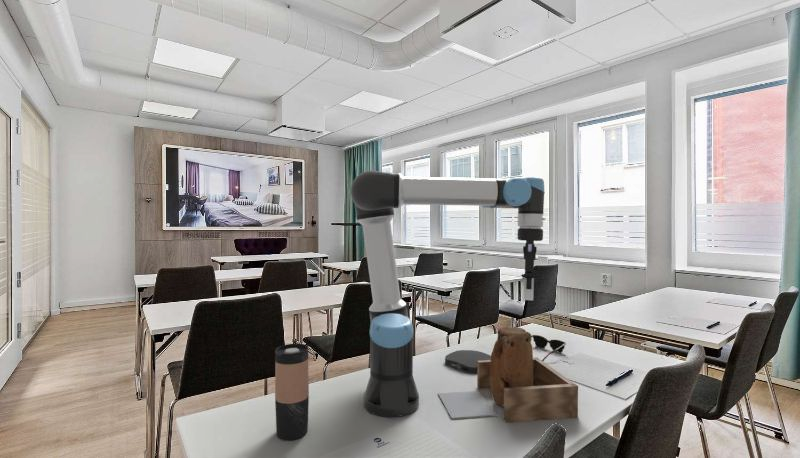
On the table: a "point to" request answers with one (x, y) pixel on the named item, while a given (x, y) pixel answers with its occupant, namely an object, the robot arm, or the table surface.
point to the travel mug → (291, 391)
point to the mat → (466, 405)
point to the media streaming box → (465, 360)
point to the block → (511, 362)
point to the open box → (535, 394)
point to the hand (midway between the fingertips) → (528, 296)
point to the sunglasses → (554, 344)
